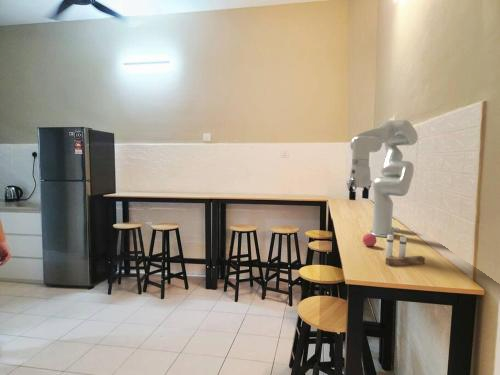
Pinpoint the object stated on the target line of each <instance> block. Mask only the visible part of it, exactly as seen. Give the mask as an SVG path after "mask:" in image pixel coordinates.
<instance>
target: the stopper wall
mask: <svg viewBox="0 0 500 375" xmlns="http://www.w3.org/2000/svg"><path fill="white" fill-rule="evenodd" d="M425 262H426V257H424V256H422V255H417V256H413V255H412V256H405V257H399V256H397V257H393V256H392V257H385V265H387V266H390V267H391V266H404V265H406V266H407V265H420V264H421V265H423V264H424V265H425Z"/></svg>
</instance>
